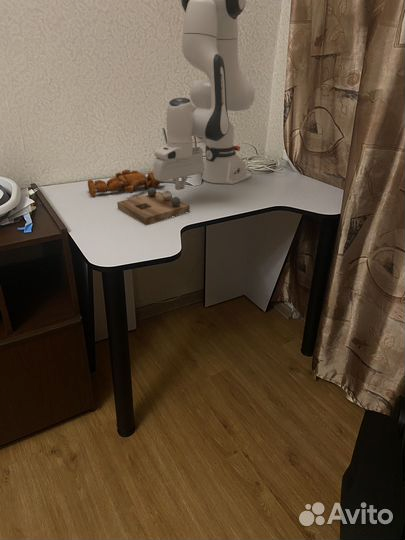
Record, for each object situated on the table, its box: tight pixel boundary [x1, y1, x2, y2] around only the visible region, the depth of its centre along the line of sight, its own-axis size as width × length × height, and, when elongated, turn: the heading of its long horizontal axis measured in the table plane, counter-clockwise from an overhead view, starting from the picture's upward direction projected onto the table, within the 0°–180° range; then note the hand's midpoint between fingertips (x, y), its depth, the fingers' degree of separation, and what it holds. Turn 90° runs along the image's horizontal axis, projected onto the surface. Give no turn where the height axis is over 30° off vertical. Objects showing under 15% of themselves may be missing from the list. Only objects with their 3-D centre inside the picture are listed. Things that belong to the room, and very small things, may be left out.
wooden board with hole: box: [116, 191, 190, 226], centre depth 138 cm, size 18×18×2 cm
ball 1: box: [147, 187, 157, 196], centre depth 143 cm, size 3×3×3 cm
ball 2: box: [171, 196, 182, 206], centre depth 135 cm, size 3×3×3 cm
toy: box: [87, 169, 165, 198], centre depth 155 cm, size 20×7×30 cm
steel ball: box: [161, 190, 173, 200], centre depth 140 cm, size 4×4×4 cm
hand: (179, 189), depth 142 cm, fingers closed
